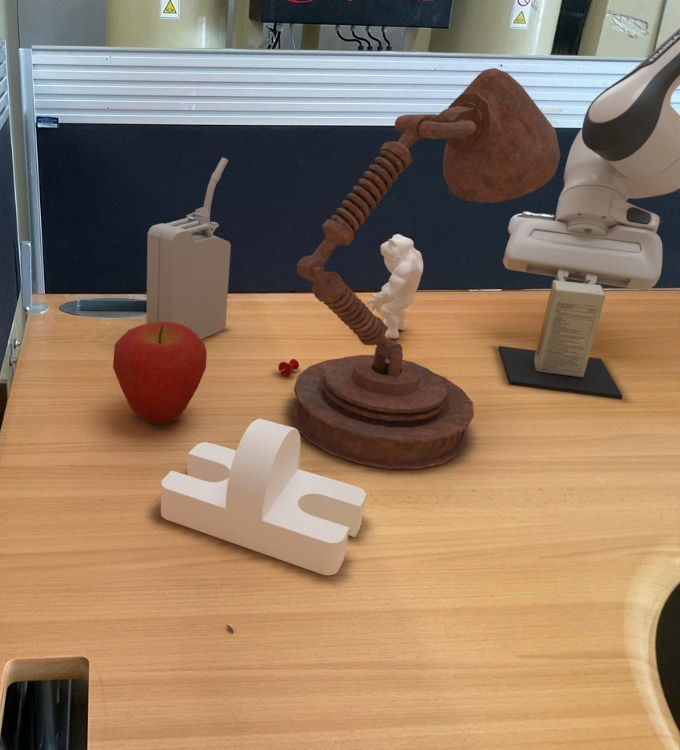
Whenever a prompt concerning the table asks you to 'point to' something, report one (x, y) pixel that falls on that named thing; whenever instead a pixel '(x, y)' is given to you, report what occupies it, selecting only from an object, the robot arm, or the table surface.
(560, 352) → the cosmetic box
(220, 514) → the white u-slot block
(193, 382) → the apple
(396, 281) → the figurine
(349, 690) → the table surface
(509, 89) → the desk lamp
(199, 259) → the gas can
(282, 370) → the pushpin
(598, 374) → the mat
